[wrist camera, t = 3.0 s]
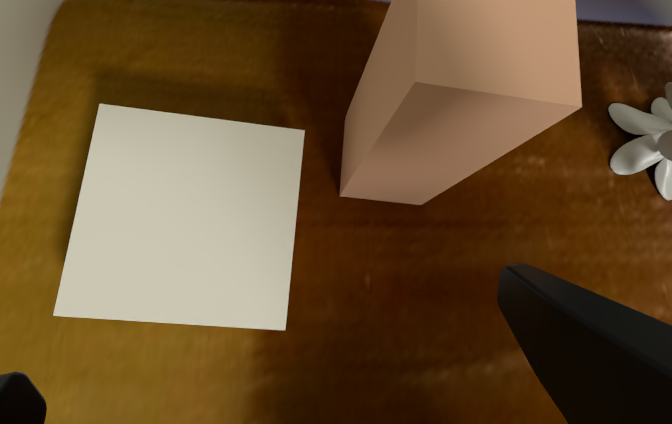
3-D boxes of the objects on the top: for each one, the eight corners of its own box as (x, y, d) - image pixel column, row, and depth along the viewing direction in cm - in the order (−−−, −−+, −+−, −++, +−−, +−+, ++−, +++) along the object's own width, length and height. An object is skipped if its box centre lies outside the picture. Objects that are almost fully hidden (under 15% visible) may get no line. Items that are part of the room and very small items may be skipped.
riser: (301, 150, 24) (304, 130, 21) (283, 325, 21) (285, 330, 18) (122, 128, 22) (99, 103, 19) (85, 312, 20) (53, 315, 17)
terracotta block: (423, 128, 25) (572, -40, 12) (420, 205, 24) (581, 107, 11) (345, 117, 24) (420, -71, 12) (339, 196, 23) (415, 81, 11)
